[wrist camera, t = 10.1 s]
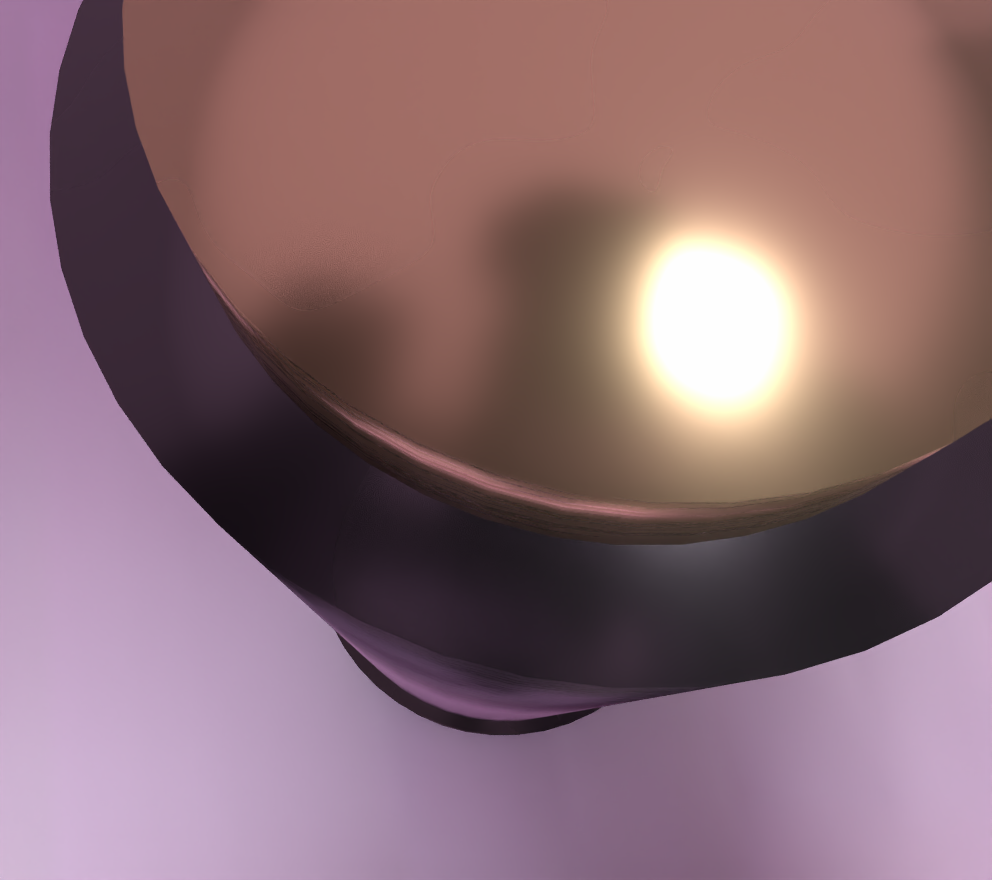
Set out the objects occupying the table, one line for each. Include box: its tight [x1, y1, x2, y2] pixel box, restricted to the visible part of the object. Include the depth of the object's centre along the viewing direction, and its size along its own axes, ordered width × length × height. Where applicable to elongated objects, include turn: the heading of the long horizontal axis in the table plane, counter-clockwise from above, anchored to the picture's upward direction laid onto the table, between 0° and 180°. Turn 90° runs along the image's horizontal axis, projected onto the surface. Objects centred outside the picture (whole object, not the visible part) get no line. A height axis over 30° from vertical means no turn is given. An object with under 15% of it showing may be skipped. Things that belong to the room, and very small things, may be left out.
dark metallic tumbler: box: [50, 0, 992, 735], centre depth 10 cm, size 6×6×13 cm
